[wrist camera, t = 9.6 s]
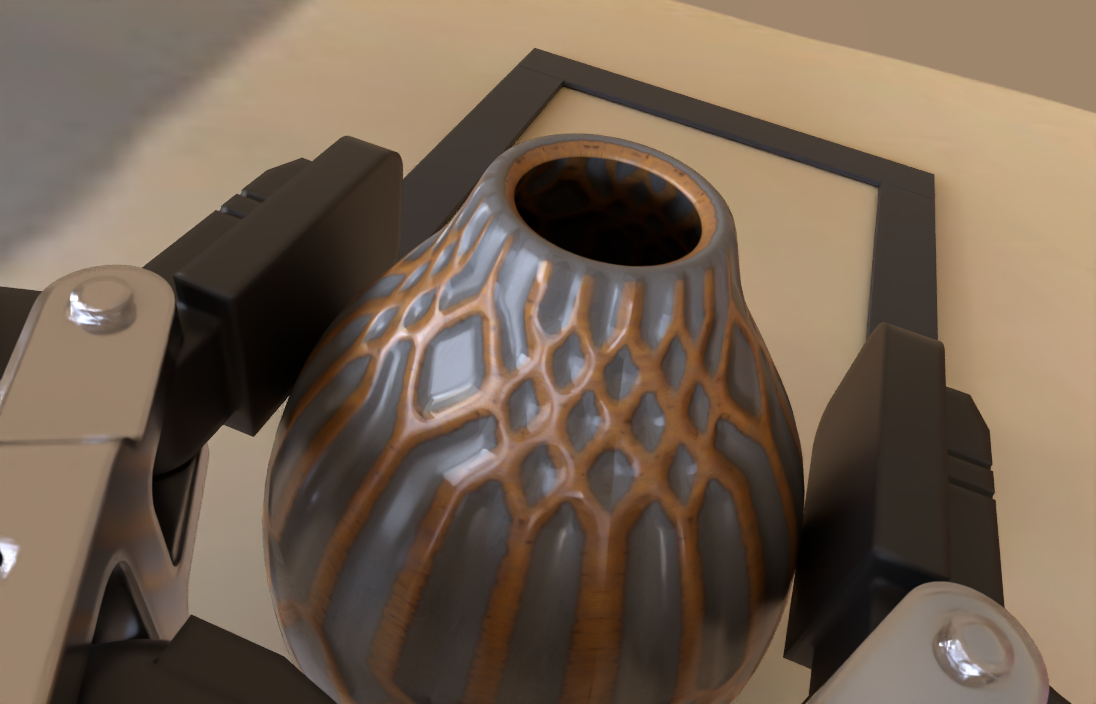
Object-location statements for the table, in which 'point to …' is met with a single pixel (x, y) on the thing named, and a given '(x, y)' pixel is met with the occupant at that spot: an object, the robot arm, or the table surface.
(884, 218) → the tape u shape
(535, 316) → the vase
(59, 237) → the table surface
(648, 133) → the table surface
